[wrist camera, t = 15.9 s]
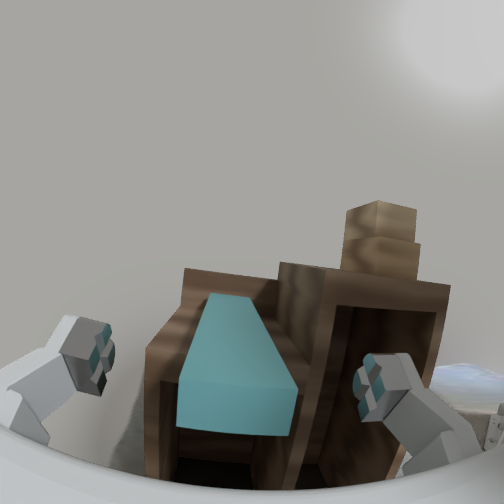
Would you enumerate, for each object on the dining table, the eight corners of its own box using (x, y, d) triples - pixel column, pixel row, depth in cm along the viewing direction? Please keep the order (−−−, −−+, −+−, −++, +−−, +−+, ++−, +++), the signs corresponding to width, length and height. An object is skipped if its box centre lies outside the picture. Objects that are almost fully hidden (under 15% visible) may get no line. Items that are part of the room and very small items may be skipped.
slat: (288, 436, 10) (298, 389, 10) (176, 426, 9) (178, 377, 9) (247, 316, 32) (249, 297, 32) (208, 311, 31) (210, 292, 31)
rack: (361, 538, 19) (457, 203, 19) (151, 539, 17) (171, 146, 17) (321, 459, 35) (368, 221, 35) (171, 450, 33) (196, 194, 33)
